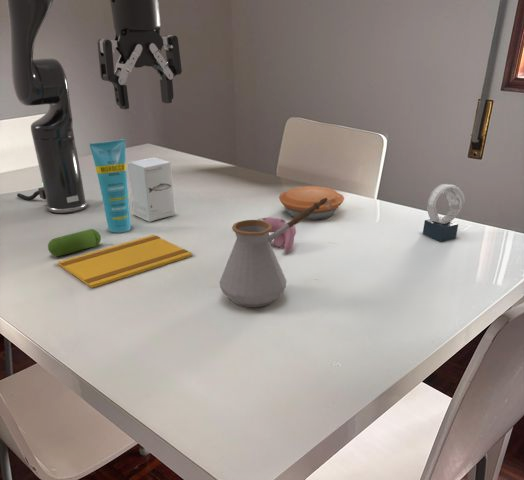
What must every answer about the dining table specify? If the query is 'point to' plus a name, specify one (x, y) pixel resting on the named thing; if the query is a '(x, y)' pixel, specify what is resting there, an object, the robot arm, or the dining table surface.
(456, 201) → the ring sculpture on base
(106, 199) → the tube
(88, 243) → the pickle
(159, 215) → the white packaging box
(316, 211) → the pie
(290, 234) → the video game controller
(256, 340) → the dining table surface
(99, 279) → the towel
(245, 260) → the coffee pot
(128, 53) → the robot arm
